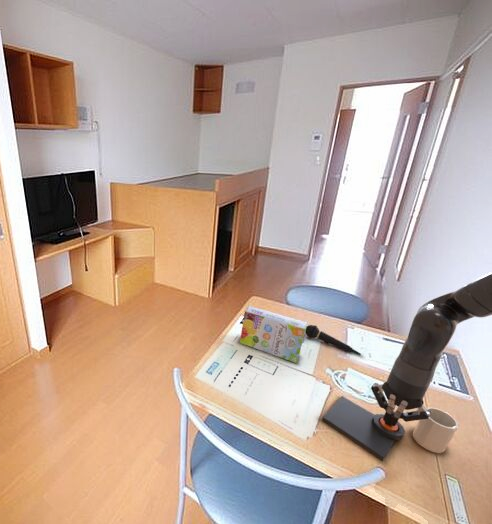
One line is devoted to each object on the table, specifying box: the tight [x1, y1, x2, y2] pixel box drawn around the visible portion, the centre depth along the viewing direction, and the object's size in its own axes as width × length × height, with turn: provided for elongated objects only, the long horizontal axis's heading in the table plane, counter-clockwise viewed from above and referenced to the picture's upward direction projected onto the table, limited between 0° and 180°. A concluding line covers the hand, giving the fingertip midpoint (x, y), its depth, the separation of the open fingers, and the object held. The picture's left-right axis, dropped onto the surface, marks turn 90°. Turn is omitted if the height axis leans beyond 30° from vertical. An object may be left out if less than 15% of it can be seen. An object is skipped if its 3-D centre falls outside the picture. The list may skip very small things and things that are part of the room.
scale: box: [321, 395, 406, 462], centre depth 86 cm, size 16×14×3 cm
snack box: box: [239, 305, 308, 364], centre depth 115 cm, size 21×6×15 cm, turn 56°
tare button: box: [379, 418, 398, 432], centre depth 84 cm, size 4×4×2 cm
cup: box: [412, 406, 459, 454], centre depth 81 cm, size 7×7×9 cm
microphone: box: [305, 324, 362, 356], centre depth 120 cm, size 6×6×20 cm
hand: (388, 423), depth 84 cm, fingers closed
